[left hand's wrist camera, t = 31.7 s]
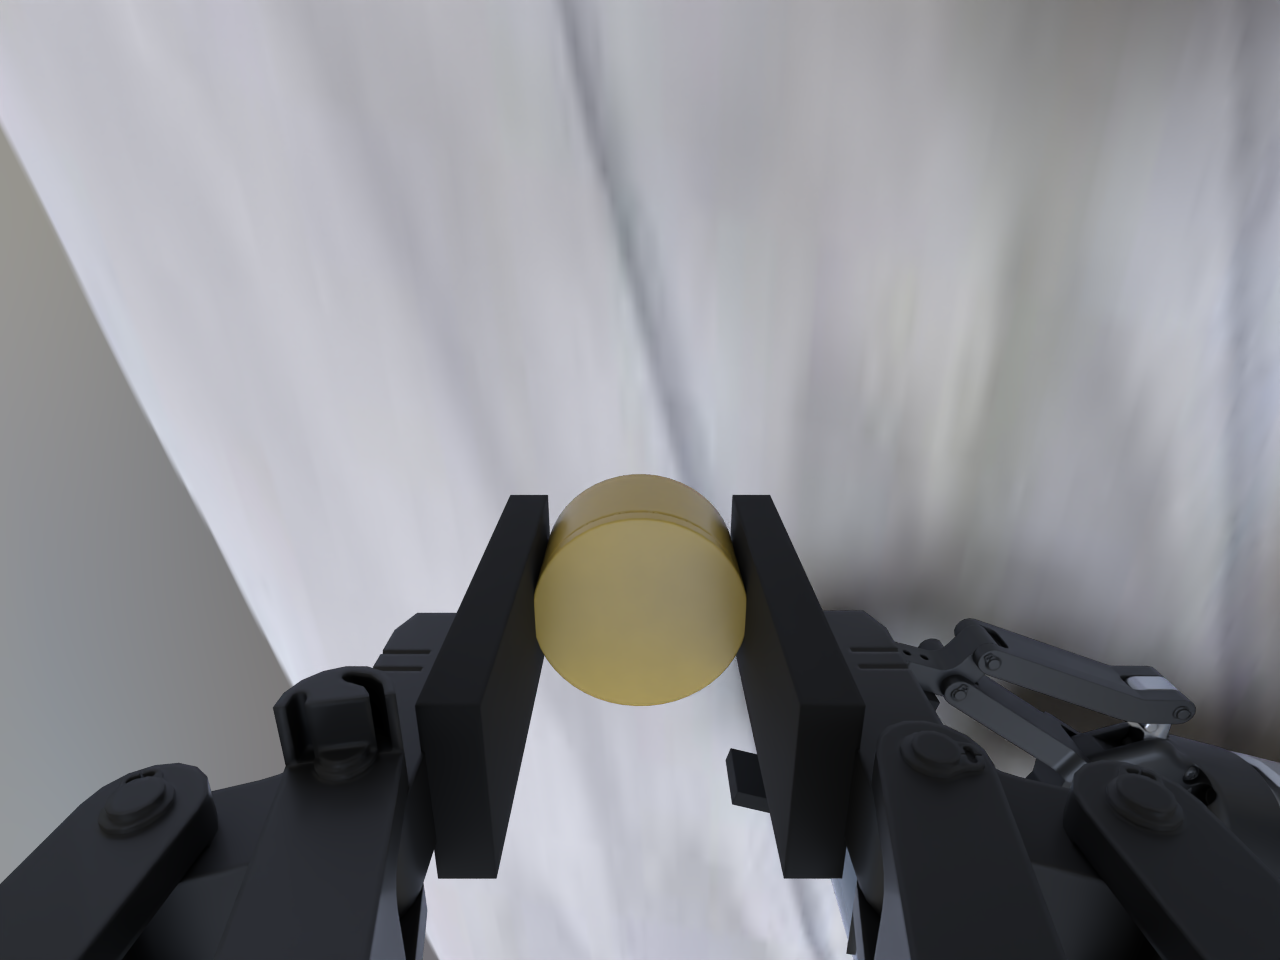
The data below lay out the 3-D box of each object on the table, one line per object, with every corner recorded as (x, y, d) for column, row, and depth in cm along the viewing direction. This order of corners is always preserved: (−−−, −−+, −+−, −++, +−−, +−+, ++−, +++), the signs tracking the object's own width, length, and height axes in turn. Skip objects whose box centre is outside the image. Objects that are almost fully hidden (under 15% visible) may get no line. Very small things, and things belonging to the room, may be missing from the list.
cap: (698, 446, 14) (709, 488, 12) (755, 608, 15) (774, 671, 13) (517, 508, 14) (496, 559, 12) (587, 660, 15) (579, 730, 13)
